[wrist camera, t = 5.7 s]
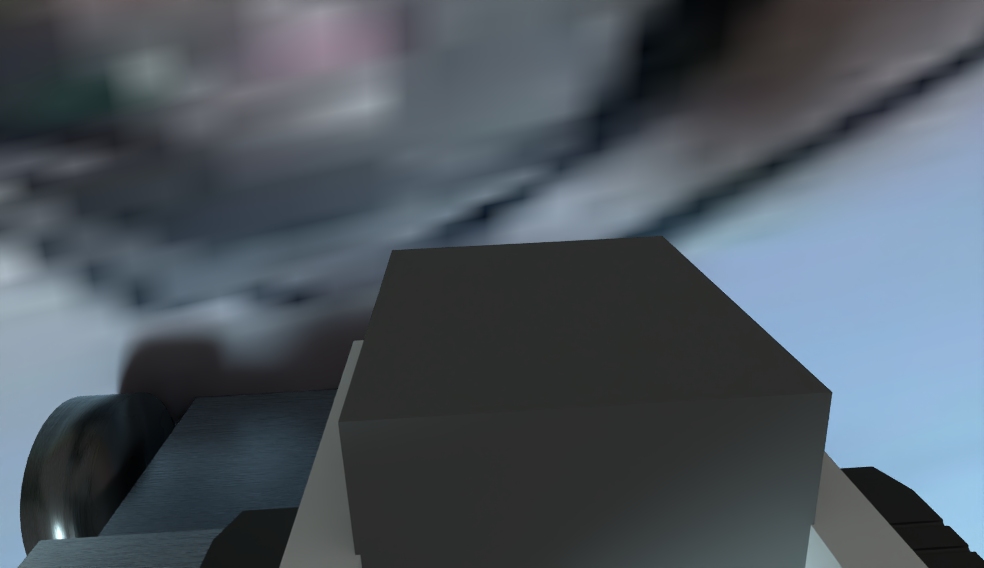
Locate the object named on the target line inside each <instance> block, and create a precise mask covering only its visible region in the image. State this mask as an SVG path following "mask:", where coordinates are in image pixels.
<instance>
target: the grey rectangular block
mask: <svg viewBox="0 0 984 568" xmlns="http://www.w3.org/2000/svg"><path fill="white" fill-rule="evenodd" d="M831 398H832V392H831V391H830V390H829V389H828V388H827V387H826V386H825V385H824V384H823V383H822V382H820V381H819V380H818V379H817V378H816V377H815V376H814V375H813V374H812V373H811V372H810V371H809V370H807V369H806V368H805V367H804V366H803V365H802V364H801V363H800V362H799V361H798V360H797V359H795V358H794V357H793V356H792V355H791V354H790V353H789V352H788V351H787V350H786V349H785V348H784V347H782V346H781V345H780V344H779V343H778V342H777V341H776V340H775V339H774V338H773V337H772V336H770V335H769V334H768V333H767V332H766V331H765V330H764V329H763V328H762V327H761V326H760V325H759V324H757V323H756V322H755V321H754V320H753V319H752V318H751V317H750V316H749V315H748V314H747V313H745V312H744V311H743V310H742V309H741V308H740V307H739V306H738V305H737V304H736V303H735V302H734V301H732V300H731V299H730V298H729V297H728V296H727V295H726V294H725V293H724V292H723V291H722V290H720V289H719V288H718V287H717V286H716V285H715V284H714V283H713V282H712V281H711V280H710V279H709V278H707V277H706V276H705V275H704V274H703V273H702V272H701V271H700V270H699V269H698V268H697V267H695V266H694V265H693V264H692V263H691V262H690V261H689V260H688V259H687V258H686V257H685V256H684V255H682V254H681V253H680V252H679V251H678V250H677V249H676V248H675V247H674V246H673V245H672V244H670V243H669V242H668V241H667V240H666V239H665V238H664V237H663V236H656V237H637V238H618V239H599V240H580V241H561V242H542V243H523V244H504V245H485V246H465V247H446V248H427V249H408V250H392V253H391V256H390V259H389V262H388V265H387V269H386V272H385V275H384V278H383V281H382V284H381V288H380V291H379V294H378V297H377V300H376V303H375V307H374V310H373V313H372V316H371V319H370V322H369V326H368V329H367V332H366V335H365V338H364V341H363V344H362V348H361V351H360V354H359V357H358V360H357V363H356V367H355V370H354V373H353V376H352V379H351V382H350V386H349V389H348V392H347V395H346V398H345V401H344V405H343V408H342V411H341V414H340V417H339V420H338V426H339V434H340V442H341V450H342V457H343V465H344V473H345V480H346V488H347V496H348V504H349V511H350V519H351V527H352V534H353V542H354V550H355V555H360V556H361V564H362V568H805V565H806V558H807V550H808V543H809V536H810V528H811V525H814V523H815V515H816V508H817V501H818V493H819V486H820V479H821V471H822V464H823V456H824V449H825V442H826V434H827V427H828V420H829V412H830V405H831Z"/></svg>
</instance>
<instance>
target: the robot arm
mask: <svg viewBox="0 0 984 568" xmlns="http://www.w3.org/2000/svg"><path fill="white" fill-rule="evenodd" d="M363 341H364V340H358V341H353V344H352V347H351V350H350V353H349V356H348V359H347V363H346V366H345V369H344V372H343V375H342V378H341V381H340V384H339V387H338V390H337V393H336V396H335V399H334V402H333V405H332V408H331V411H330V414H329V417H328V421H327V424H326V427H325V430H324V433H323V436H322V439H321V442H320V445H319V448H318V451H317V454H316V457H315V460H314V463H313V466H312V469H311V472H310V476H309V479H308V482H307V485H306V488H305V491H304V494H303V497H302V500H301V503H300V506H299V507H292V508H277V509H262V510H247V511H242V512H241V513H240V514H239V515H238V516H237V517H236V518H235V519H234V520H233V521H232V522H231V523H230V524H229V525H228V526H227V527H226V528H225V529H224V530H223V531H222V532H221V533H220V534H218V535H217V536H216V537H215V538H214V539H213V541H212V543H211V545H210V547H209V549H208V551H207V553H206V555H205V557H204V559H203V562H202V564H201V566H200V568H362V564H361V556H360V555H355V550H354V542H353V534H352V527H351V519H350V511H349V504H348V496H347V488H346V480H345V473H344V465H343V457H342V450H341V442H340V434H339V426H338V420H339V417H340V414H341V411H342V408H343V405H344V401H345V398H346V395H347V392H348V389H349V386H350V382H351V379H352V376H353V373H354V370H355V367H356V363H357V360H358V357H359V354H360V351H361V348H362V344H363ZM805 568H984V560H983V559H982V558H981V557H980V556H979V555H978V554H977V553H976V552H970V550H969V548H968V544H967V543H966V542H965V541H964V540H963V539H962V538H961V537H960V536H959V535H958V534H957V533H956V532H955V531H954V530H953V529H952V528H951V527H950V526H944V524H943V519H942V518H941V517H940V516H939V515H938V514H937V513H936V512H935V511H934V510H933V509H932V508H931V507H930V506H929V505H928V504H927V503H926V502H925V501H923V500H922V499H921V498H920V497H919V496H918V495H917V494H916V493H915V492H914V491H913V490H912V489H910V488H909V487H907V486H905V485H903V484H902V483H900V482H898V481H897V480H895V479H893V478H891V477H890V476H888V475H886V474H885V473H883V472H881V471H879V470H878V469H876V468H874V467H858V468H842V469H840V468H839V467H838V466H837V465H836V464H835V462H834V461H833V460H832V459H831V458H830V457H829V456H828V455H827V453H826V452H825V451H824V456H823V464H822V471H821V479H820V486H819V493H818V501H817V508H816V515H815V523H814V525H811V528H810V536H809V543H808V550H807V558H806V565H805Z"/></svg>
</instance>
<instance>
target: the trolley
mask: <svg viewBox="0 0 984 568" xmlns="http://www.w3.org/2000/svg"><path fill="white" fill-rule="evenodd" d="M337 390H338V389H335V390H318V391H301V392H284V393H267V394H250V395H232V396H215V397H198V398H196V399H195V400H194V402H193V403H192V404H191V406H190V407H189V409H188V410H187V411H186V413H185V414H184V416H183V417H182V418H181V420H180V421H179V423H178V424H177V425H176V427H175V428H174V425H173V422H172V419H171V417H170V415H169V413H168V411H167V409H166V407H165V406H164V404H163V403H162V402H161V401H160V400H159V399H158V398H157V397H155V396H154V395H152V394H149V393H129V394H112V395H95V396H80V397H75V398H72V399H69V400H67V401H66V402H64V403H62V404H61V405H60V406H59V407H58V408H56V409H55V410H54V412H53V413H52V414H51V415H50V416H49V417H48V419H47V420H46V421H45V423H44V424H43V426H42V428H41V429H40V431H39V433H38V435H37V437H36V439H35V441H34V444H33V446H32V448H31V451H30V454H29V457H28V460H27V464H26V468H25V472H24V477H23V482H22V489H21V499H20V522H21V532H22V538H23V543H24V547H25V551H26V554H27V557H26V558H25V559H24V560H23V562H22V563H21V564H20V565H19V567H18V568H200V566H201V564H202V562H203V559H204V557H205V555H206V553H207V551H208V549H209V547H210V545H211V543H212V541H213V539H214V538H215V537H216V536H217V535H218V534H220V533H221V532H222V531H223V530H224V529H225V528H226V527H227V526H228V525H229V524H230V523H231V522H232V521H233V520H234V519H235V518H236V517H237V516H238V515H239V514H240V513H241V512H242V511H247V510H262V509H277V508H292V507H299V506H300V503H301V500H302V497H303V494H304V491H305V488H306V485H307V482H308V479H309V476H310V472H311V469H312V466H313V463H314V460H315V457H316V454H317V451H318V448H319V445H320V442H321V439H322V436H323V433H324V430H325V427H326V424H327V421H328V417H329V414H330V411H331V408H332V405H333V402H334V399H335V396H336V393H337Z"/></svg>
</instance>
